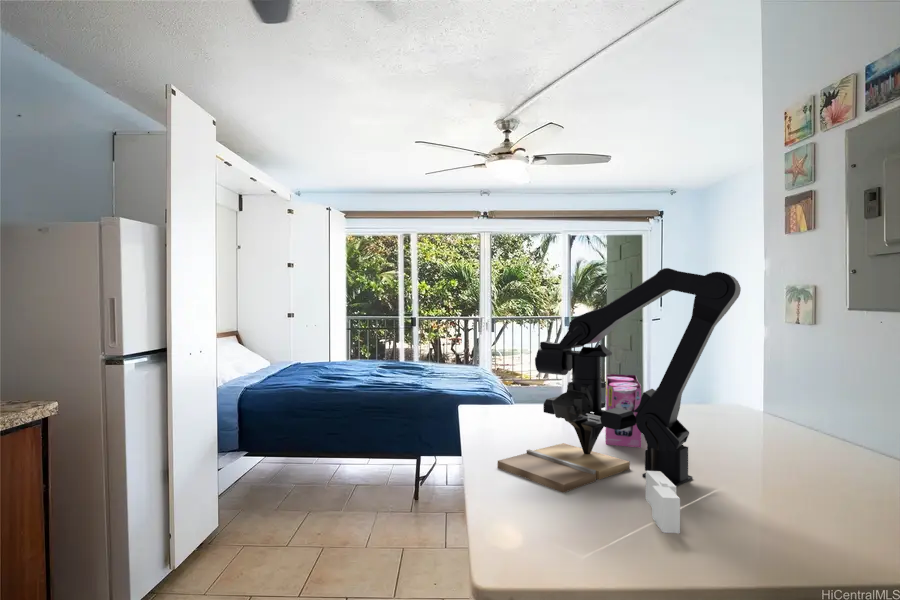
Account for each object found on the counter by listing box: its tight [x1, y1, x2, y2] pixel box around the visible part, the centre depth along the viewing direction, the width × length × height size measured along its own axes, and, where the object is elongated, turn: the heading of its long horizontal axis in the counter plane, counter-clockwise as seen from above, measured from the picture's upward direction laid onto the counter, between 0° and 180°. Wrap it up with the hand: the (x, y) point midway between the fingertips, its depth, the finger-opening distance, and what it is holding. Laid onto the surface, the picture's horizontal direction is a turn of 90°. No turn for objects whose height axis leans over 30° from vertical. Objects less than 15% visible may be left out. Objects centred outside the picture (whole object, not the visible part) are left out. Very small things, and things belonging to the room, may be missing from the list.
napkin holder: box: [645, 471, 681, 534], centre depth 74 cm, size 15×11×6 cm
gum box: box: [604, 373, 642, 448], centre depth 121 cm, size 24×8×14 cm, turn 162°
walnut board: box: [497, 448, 597, 493], centre depth 92 cm, size 16×9×2 cm, turn 38°
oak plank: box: [532, 442, 631, 481], centre depth 98 cm, size 16×10×2 cm, turn 38°
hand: (587, 453), depth 100 cm, fingers closed, pressing on oak plank
